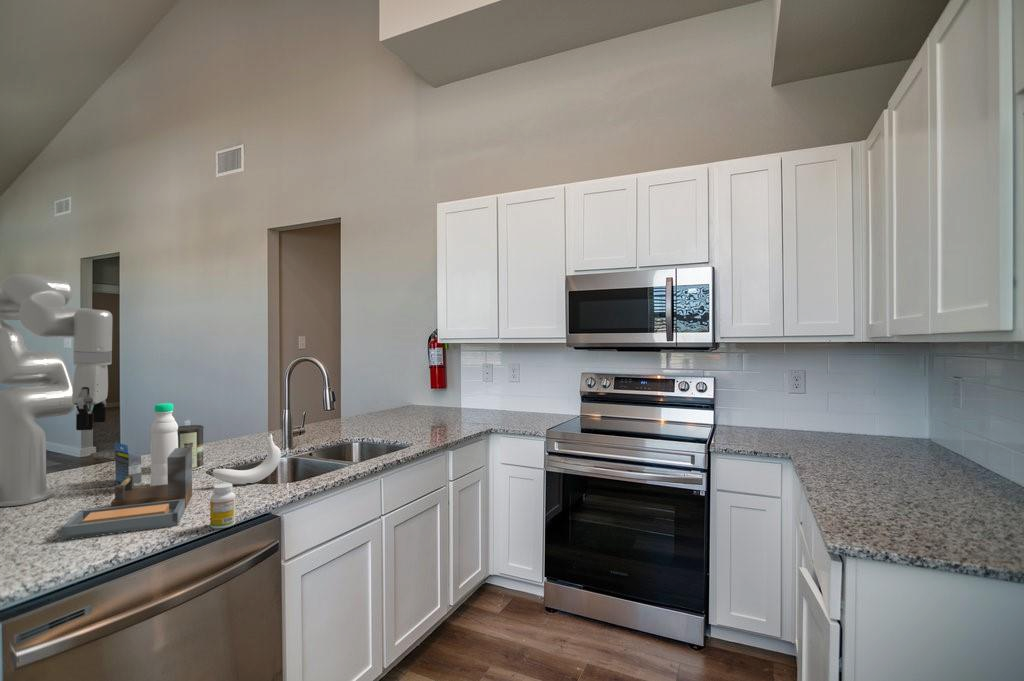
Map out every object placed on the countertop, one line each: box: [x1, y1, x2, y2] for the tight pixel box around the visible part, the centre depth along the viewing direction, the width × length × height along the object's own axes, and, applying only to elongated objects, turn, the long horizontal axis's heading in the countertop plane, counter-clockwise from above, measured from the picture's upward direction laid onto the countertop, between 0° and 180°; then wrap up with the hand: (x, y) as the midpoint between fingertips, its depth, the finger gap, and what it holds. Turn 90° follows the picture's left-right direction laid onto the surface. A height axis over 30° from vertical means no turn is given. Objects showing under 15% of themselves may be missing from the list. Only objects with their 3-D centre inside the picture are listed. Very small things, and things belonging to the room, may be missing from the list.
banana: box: [212, 432, 282, 485], centre depth 159 cm, size 5×19×15 cm, turn 128°
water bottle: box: [149, 402, 179, 486], centre depth 157 cm, size 7×7×25 cm
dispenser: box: [110, 447, 193, 510], centre depth 138 cm, size 16×12×14 cm
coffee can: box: [177, 424, 205, 471], centre depth 176 cm, size 10×10×14 cm
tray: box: [60, 499, 186, 541], centre depth 125 cm, size 22×12×3 cm, turn 115°
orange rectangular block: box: [82, 504, 169, 524], centre depth 125 cm, size 16×6×2 cm, turn 115°
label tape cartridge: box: [114, 441, 142, 485], centre depth 160 cm, size 9×4×12 cm, turn 59°
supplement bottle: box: [209, 482, 237, 529], centre depth 125 cm, size 5×5×10 cm
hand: (91, 425), depth 130 cm, fingers open, 9 cm apart
